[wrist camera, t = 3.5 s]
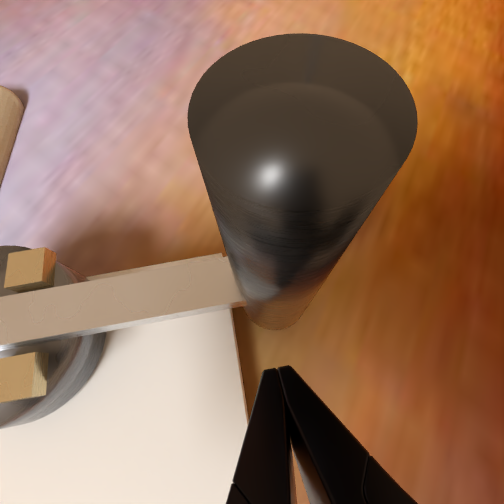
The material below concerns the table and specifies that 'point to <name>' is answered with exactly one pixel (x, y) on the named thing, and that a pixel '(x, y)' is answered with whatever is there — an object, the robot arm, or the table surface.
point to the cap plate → (139, 420)
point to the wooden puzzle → (8, 125)
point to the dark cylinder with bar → (226, 212)
